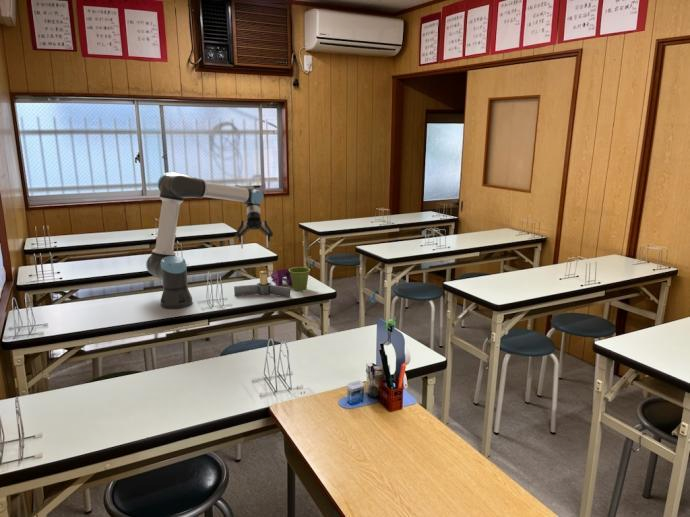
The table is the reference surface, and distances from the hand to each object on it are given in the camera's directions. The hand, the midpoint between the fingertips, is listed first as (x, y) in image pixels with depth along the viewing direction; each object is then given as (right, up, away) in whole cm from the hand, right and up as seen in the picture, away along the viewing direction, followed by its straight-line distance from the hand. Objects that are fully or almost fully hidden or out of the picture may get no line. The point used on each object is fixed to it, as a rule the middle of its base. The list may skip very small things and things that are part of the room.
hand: (254, 246), depth 272 cm
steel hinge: (+6, -25, -5) cm, 26 cm away
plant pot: (+24, -23, +3) cm, 34 cm away
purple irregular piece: (+13, -20, +16) cm, 29 cm away
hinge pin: (+6, -25, -4) cm, 26 cm away
